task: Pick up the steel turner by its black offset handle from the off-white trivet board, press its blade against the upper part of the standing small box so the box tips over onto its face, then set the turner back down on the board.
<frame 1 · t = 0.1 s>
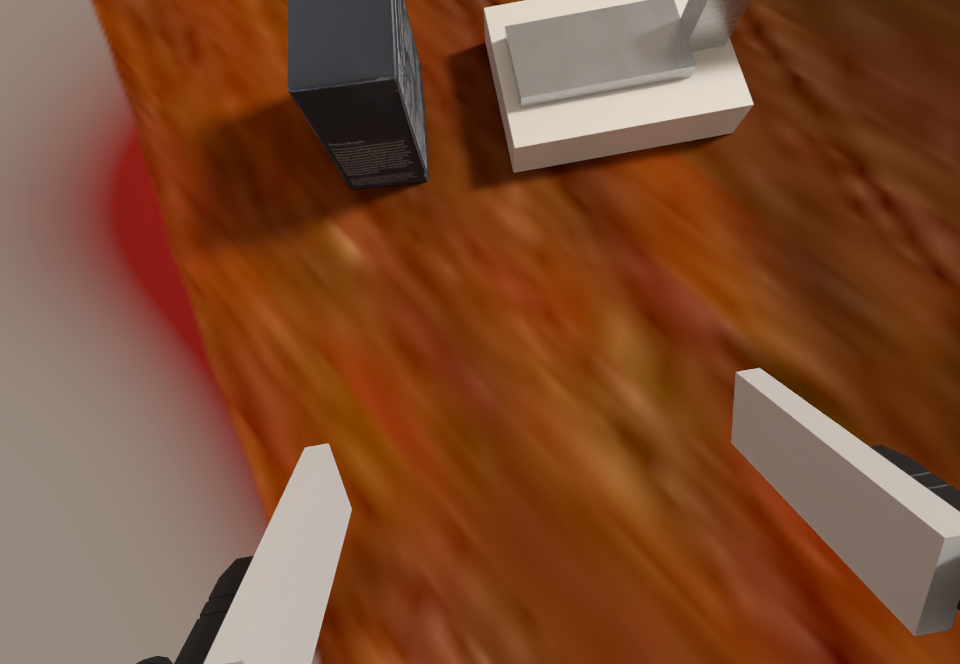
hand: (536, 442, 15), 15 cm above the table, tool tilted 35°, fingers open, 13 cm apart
small box: (385, 128, 36), on the table
turner: (651, 47, 33), point 3 cm above the table, touching trivet board
trivet board: (638, 79, 35), on the table
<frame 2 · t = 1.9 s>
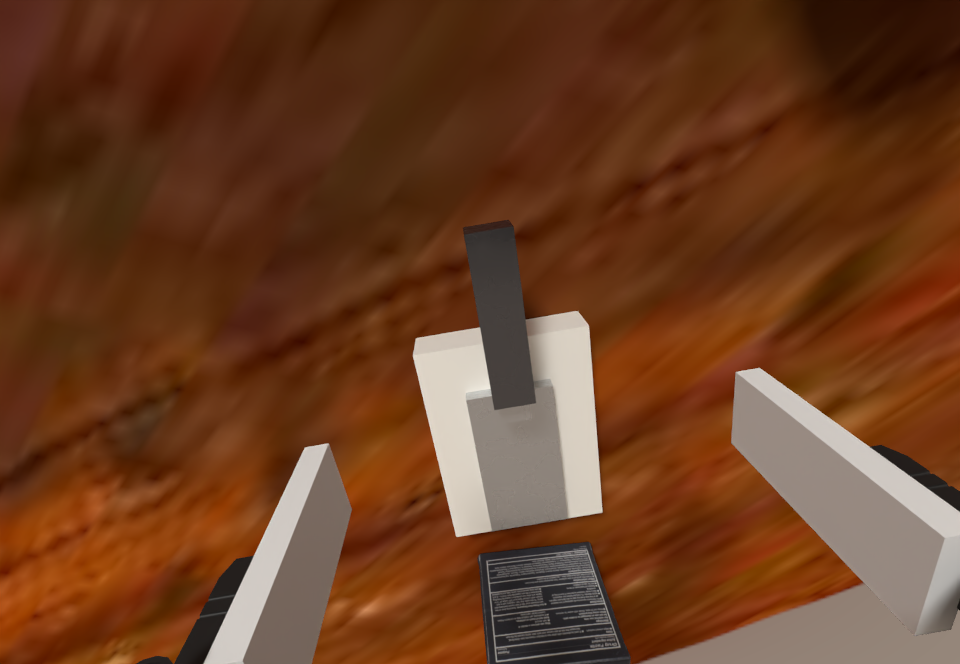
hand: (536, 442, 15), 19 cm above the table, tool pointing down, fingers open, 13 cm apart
small box: (534, 569, 44), on the table
turner: (511, 409, 33), point 3 cm above the table, touching trivet board
trivet board: (506, 389, 36), on the table
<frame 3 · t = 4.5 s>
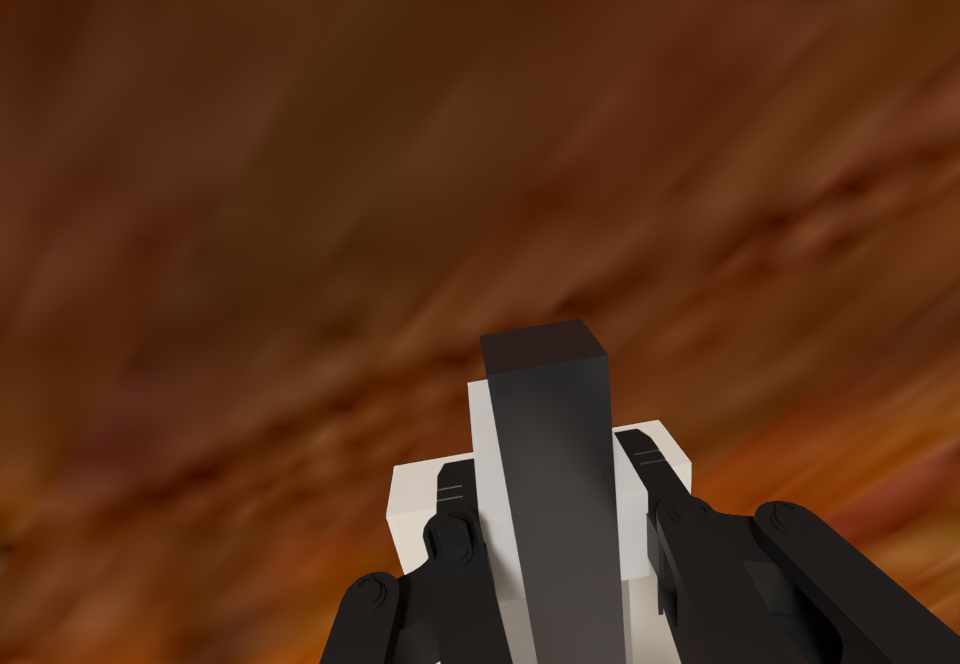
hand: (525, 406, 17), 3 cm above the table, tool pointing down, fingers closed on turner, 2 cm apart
turner: (552, 588, 20), point 3 cm above the table, touching gripper, trivet board
trivet board: (539, 533, 23), on the table
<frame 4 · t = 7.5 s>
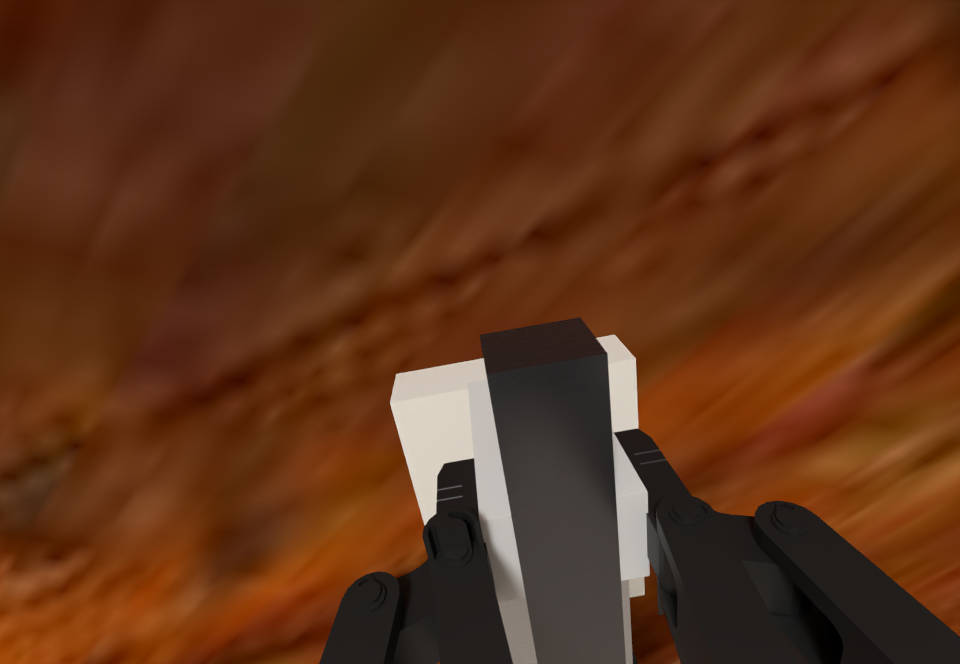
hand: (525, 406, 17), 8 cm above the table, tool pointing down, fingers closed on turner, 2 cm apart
turner: (552, 587, 20), point 8 cm above the table, touching gripper
trivet board: (518, 437, 27), on the table
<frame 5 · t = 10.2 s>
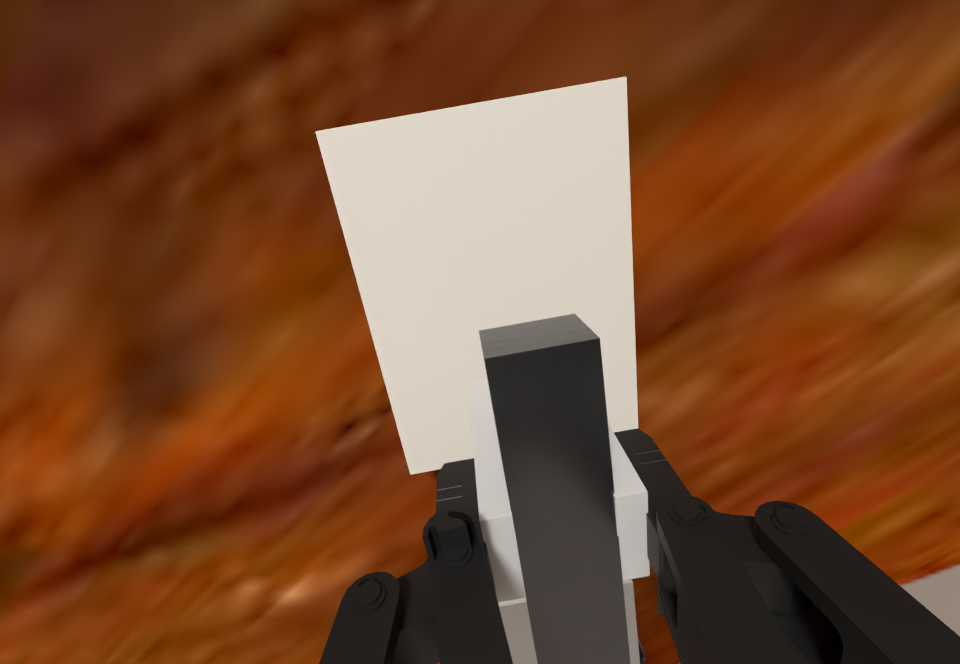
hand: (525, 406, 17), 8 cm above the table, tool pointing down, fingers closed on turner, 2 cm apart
turner: (556, 613, 19), point 9 cm above the table, tilted 5°, touching gripper
trivet board: (486, 233, 22), on the table
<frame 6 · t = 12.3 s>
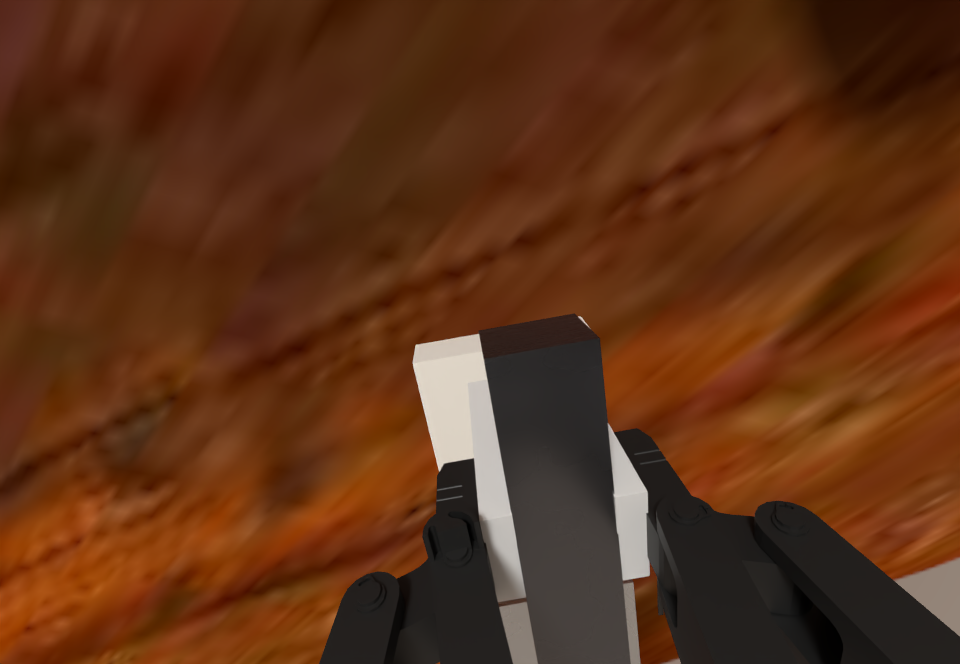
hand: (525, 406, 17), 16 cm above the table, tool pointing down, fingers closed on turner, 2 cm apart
turner: (557, 613, 19), point 17 cm above the table, tilted 5°, touching gripper
trivet board: (508, 396, 35), on the table
when the fingers open (4 cm above the table, at t = 14.1 s): turner drops 2 cm, resting on trivet board.
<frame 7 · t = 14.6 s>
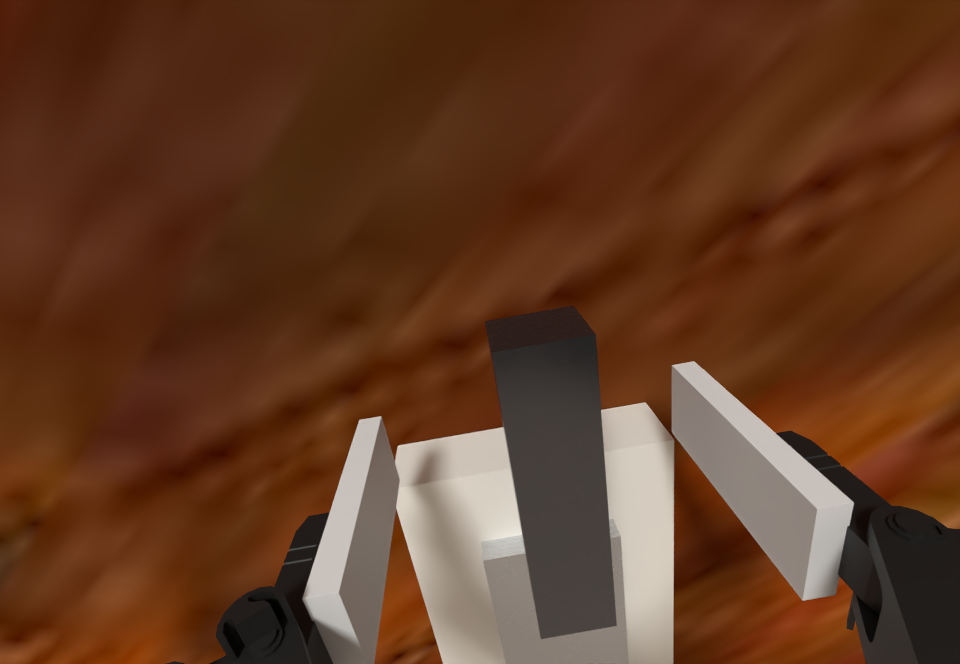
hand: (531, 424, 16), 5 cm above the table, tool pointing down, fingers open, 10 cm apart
turner: (551, 562, 21), point 3 cm above the table, touching trivet board
trivet board: (534, 511, 24), on the table
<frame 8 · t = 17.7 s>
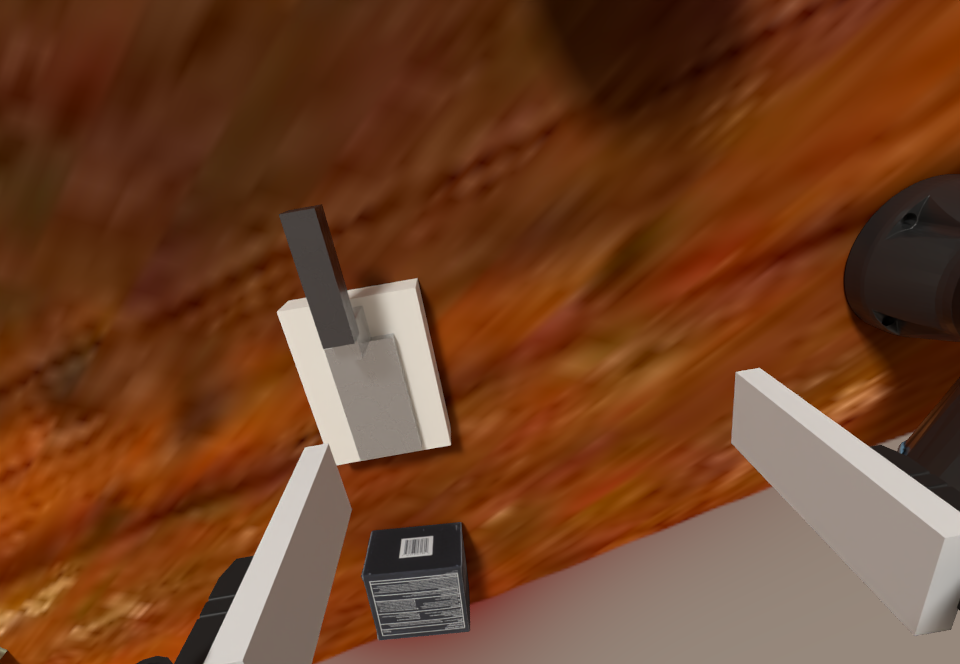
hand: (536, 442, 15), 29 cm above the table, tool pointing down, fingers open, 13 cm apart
small box: (414, 544, 50), point 3 cm above the table
turner: (366, 359, 41), point 3 cm above the table, touching trivet board
trivet board: (368, 343, 44), on the table
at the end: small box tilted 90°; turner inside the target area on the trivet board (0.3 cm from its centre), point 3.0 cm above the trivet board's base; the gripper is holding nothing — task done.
